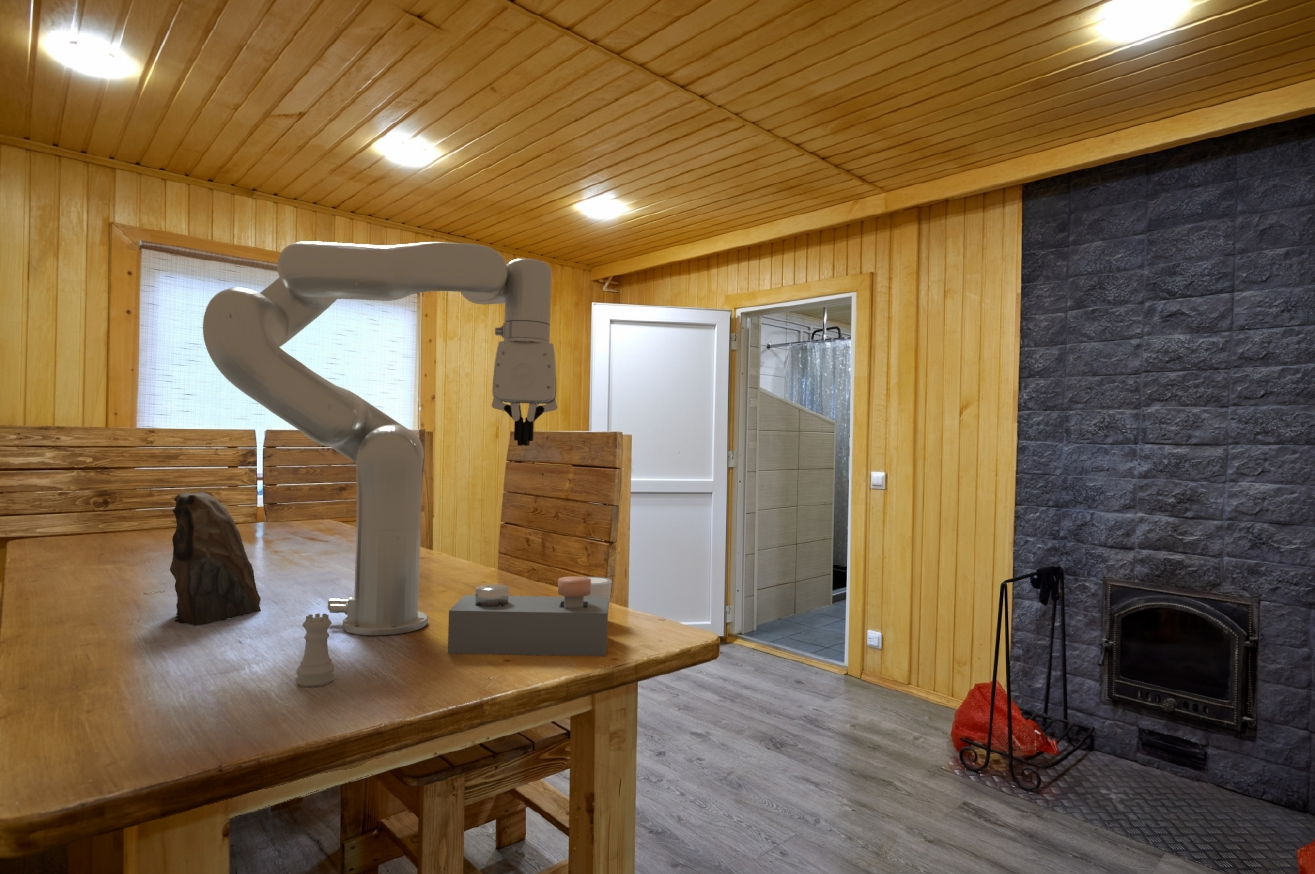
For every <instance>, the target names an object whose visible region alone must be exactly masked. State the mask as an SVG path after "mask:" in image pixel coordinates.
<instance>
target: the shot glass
mask: <svg viewBox="0 0 1315 874" xmlns="http://www.w3.org/2000/svg"><path fill="white" fill-rule="evenodd" d="M585 577H586V578H590V579H591V594H590V595H587V596H584V597H598V598H608V612H609V610H610V609H609V608H610V602H611V592H612V585H613V584H612V583H613V579H610V578H608V577H603V576H585Z"/></svg>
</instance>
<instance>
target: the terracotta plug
mask: <svg viewBox="0 0 1315 874" xmlns="http://www.w3.org/2000/svg"><path fill="white" fill-rule="evenodd" d="M586 577H587V576H563V577H559V578H558V579H557V594H558V595H559V596H561V597H565V599H564V608H583V602H584V596H587V595H590V594H591V579H590V578H586Z"/></svg>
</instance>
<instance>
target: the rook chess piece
mask: <svg viewBox="0 0 1315 874" xmlns="http://www.w3.org/2000/svg"><path fill="white" fill-rule="evenodd" d="M320 615H321V614H320V613H315V615H314V617H313V614H308V615H307V616H305V621H304V622H302V627H303V629H304V630H305V632H306V633H305V635H304V636H303V638H304V639H305V648H304V652H303V653H304V654H303V656H302V660H301V661H300V663H299V664H300V665H299V666H298V667H297V668H296V672H295V674H296V675H297V677H295V681H294V682H295V683H296V684H297V686H298V685H299V687H302V688H315V687H323V686H326V685H329V684H330V683H332V682H333V681H334V680H335V678H336V674H335V673H334V671H335V670H336V667H335V665H334V663H333V662H332V659H331V658H330V654H329V647H328V646H329V645H328V638H329V637H330V634H329V633H328V631H329V630H328V629H329V628H330V626H331V625H332V621H331V620H330V619H329V614H327V613H322V615H321V616H320Z"/></svg>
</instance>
